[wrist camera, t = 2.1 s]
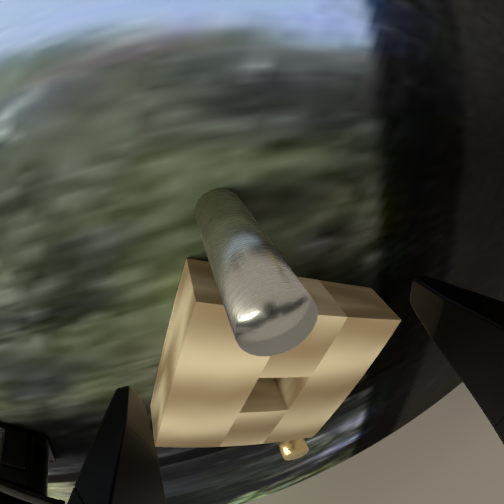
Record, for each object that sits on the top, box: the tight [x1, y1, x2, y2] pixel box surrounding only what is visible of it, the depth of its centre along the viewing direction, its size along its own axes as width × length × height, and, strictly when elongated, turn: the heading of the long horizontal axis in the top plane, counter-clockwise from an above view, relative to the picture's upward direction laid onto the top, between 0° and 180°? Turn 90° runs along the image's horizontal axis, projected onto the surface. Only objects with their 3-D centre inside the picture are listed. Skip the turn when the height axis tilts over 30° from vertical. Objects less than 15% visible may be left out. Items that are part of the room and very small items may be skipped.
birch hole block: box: [150, 258, 401, 447], centre depth 21 cm, size 14×14×4 cm
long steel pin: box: [195, 189, 318, 356], centre depth 13 cm, size 3×3×9 cm
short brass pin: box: [277, 438, 309, 460], centre depth 28 cm, size 3×3×4 cm
